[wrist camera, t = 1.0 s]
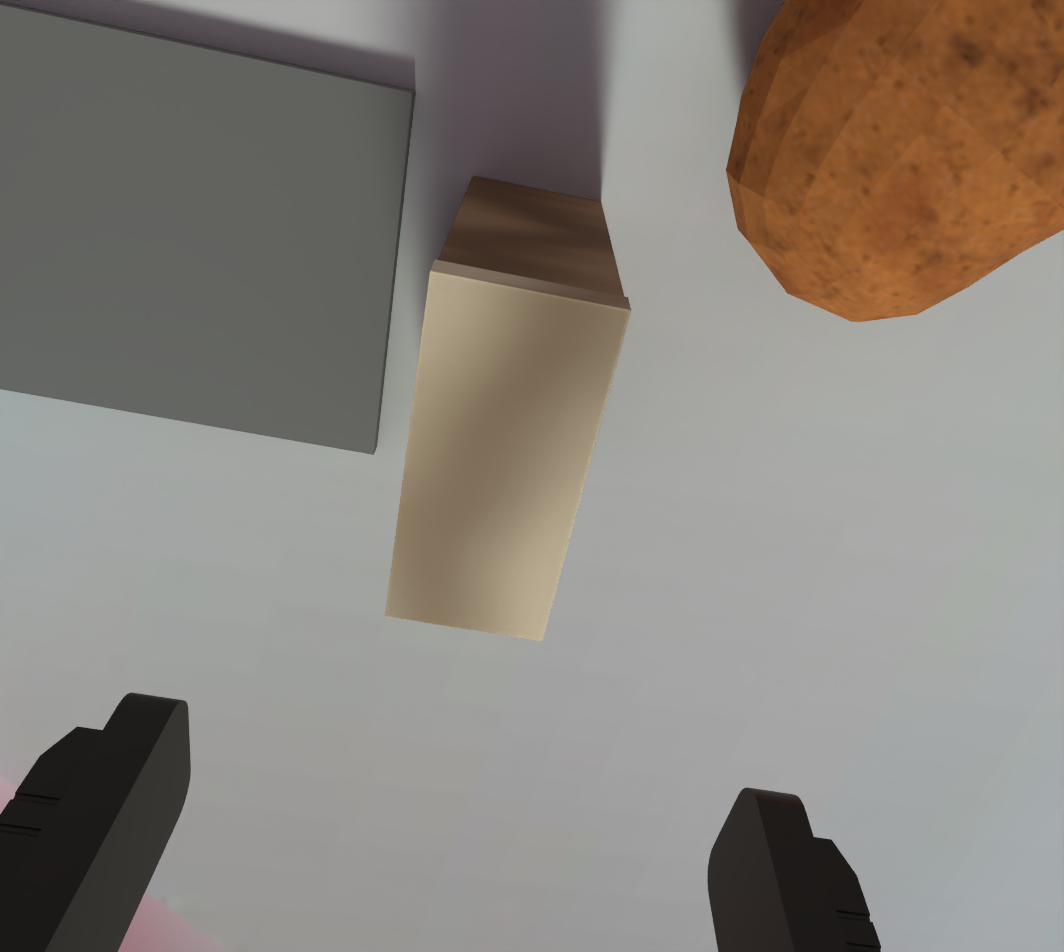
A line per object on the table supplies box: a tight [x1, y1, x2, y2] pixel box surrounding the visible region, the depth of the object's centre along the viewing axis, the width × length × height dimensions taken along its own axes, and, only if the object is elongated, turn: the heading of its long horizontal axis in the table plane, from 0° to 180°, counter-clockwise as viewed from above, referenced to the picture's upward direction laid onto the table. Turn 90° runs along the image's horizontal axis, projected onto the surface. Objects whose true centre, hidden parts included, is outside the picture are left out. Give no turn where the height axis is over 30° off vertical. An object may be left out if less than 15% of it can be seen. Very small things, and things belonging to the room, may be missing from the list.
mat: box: [0, 2, 415, 455], centre depth 26 cm, size 13×12×1 cm
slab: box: [385, 176, 631, 641], centre depth 23 cm, size 4×9×10 cm, turn 169°
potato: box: [726, 0, 1064, 322], centre depth 20 cm, size 9×11×8 cm
